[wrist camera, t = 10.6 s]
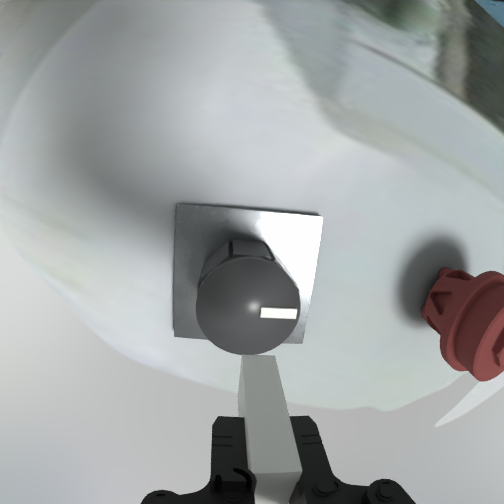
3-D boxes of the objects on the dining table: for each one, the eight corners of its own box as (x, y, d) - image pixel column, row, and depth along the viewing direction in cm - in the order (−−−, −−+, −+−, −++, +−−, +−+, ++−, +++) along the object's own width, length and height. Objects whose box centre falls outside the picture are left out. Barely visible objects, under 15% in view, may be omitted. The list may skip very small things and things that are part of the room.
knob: (201, 316, 26) (194, 353, 20) (205, 237, 25) (197, 256, 19) (280, 321, 27) (293, 358, 21) (290, 244, 26) (308, 264, 19)
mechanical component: (479, 294, 30) (423, 349, 31) (455, 232, 27) (391, 294, 29) (546, 338, 18) (481, 411, 19) (539, 266, 16) (462, 358, 17)
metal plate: (178, 203, 25) (166, 211, 20) (319, 215, 26) (338, 226, 21) (175, 331, 28) (166, 361, 23) (300, 338, 29) (311, 367, 24)
